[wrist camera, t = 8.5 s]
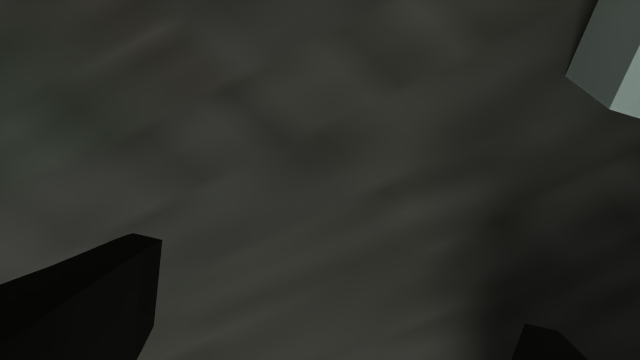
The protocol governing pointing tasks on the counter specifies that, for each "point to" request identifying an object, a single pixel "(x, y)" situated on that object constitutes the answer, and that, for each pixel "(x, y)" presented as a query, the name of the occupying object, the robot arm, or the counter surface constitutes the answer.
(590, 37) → the notched plate
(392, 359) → the counter surface
